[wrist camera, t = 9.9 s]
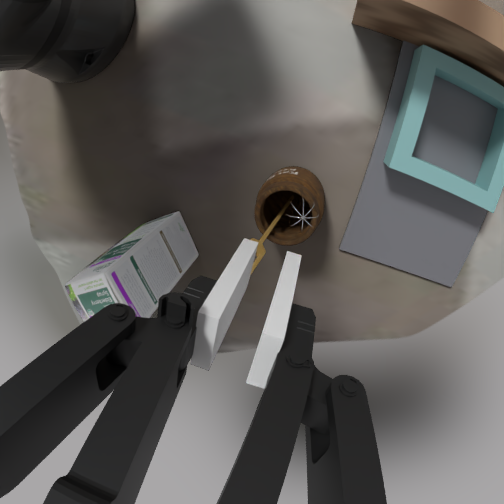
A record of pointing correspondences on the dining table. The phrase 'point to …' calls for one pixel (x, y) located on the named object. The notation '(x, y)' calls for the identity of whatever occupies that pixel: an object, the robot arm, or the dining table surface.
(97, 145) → the dining table surface
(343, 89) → the dining table surface
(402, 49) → the grey flat plate
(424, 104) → the socket frame
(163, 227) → the syrup box
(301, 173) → the utensil holder
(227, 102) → the dining table surface
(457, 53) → the backstop wall
